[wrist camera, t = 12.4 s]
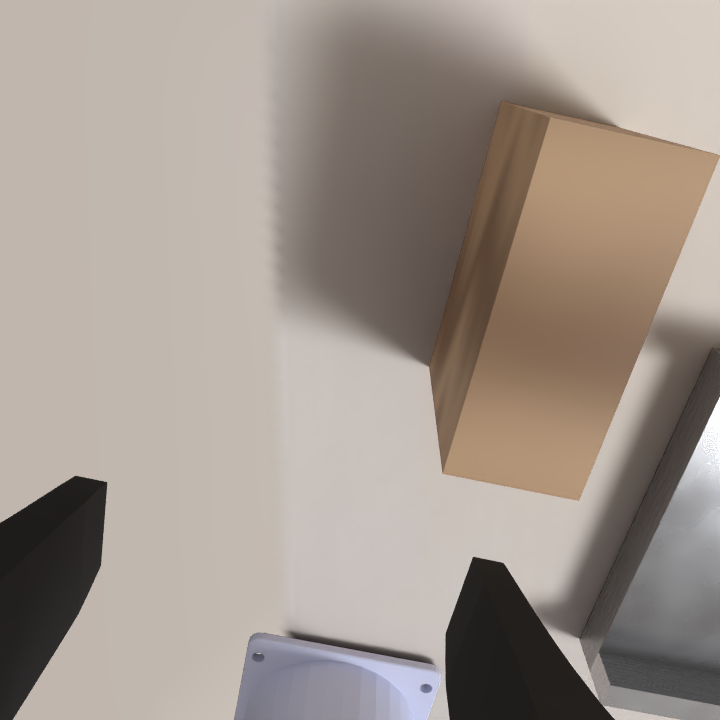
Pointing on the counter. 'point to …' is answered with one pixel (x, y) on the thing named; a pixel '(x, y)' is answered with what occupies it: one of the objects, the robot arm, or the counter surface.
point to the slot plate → (668, 580)
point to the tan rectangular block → (556, 294)
